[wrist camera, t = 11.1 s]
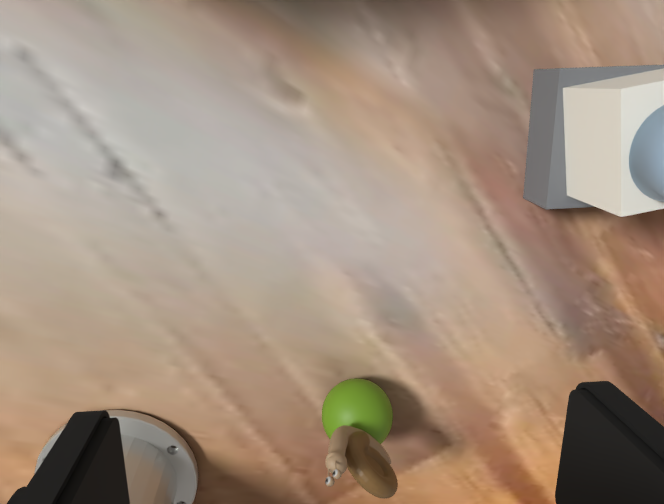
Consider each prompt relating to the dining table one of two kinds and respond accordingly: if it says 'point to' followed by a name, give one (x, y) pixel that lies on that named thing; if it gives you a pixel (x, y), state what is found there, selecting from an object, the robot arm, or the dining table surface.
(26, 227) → the dining table surface
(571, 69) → the tower base
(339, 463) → the snail figurine
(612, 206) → the tower block
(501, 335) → the dining table surface
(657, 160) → the pale blue rounded part
